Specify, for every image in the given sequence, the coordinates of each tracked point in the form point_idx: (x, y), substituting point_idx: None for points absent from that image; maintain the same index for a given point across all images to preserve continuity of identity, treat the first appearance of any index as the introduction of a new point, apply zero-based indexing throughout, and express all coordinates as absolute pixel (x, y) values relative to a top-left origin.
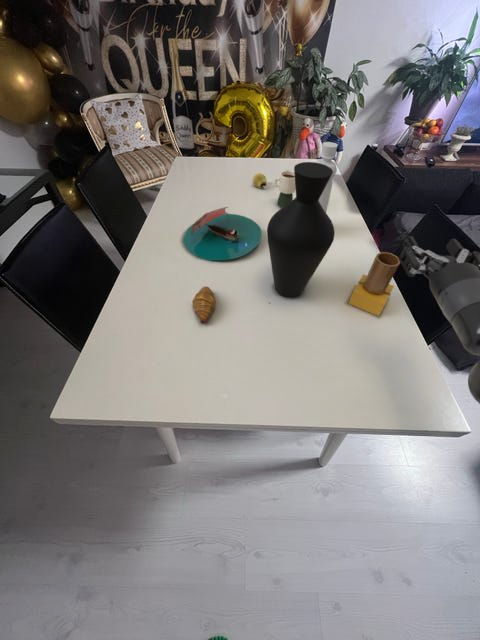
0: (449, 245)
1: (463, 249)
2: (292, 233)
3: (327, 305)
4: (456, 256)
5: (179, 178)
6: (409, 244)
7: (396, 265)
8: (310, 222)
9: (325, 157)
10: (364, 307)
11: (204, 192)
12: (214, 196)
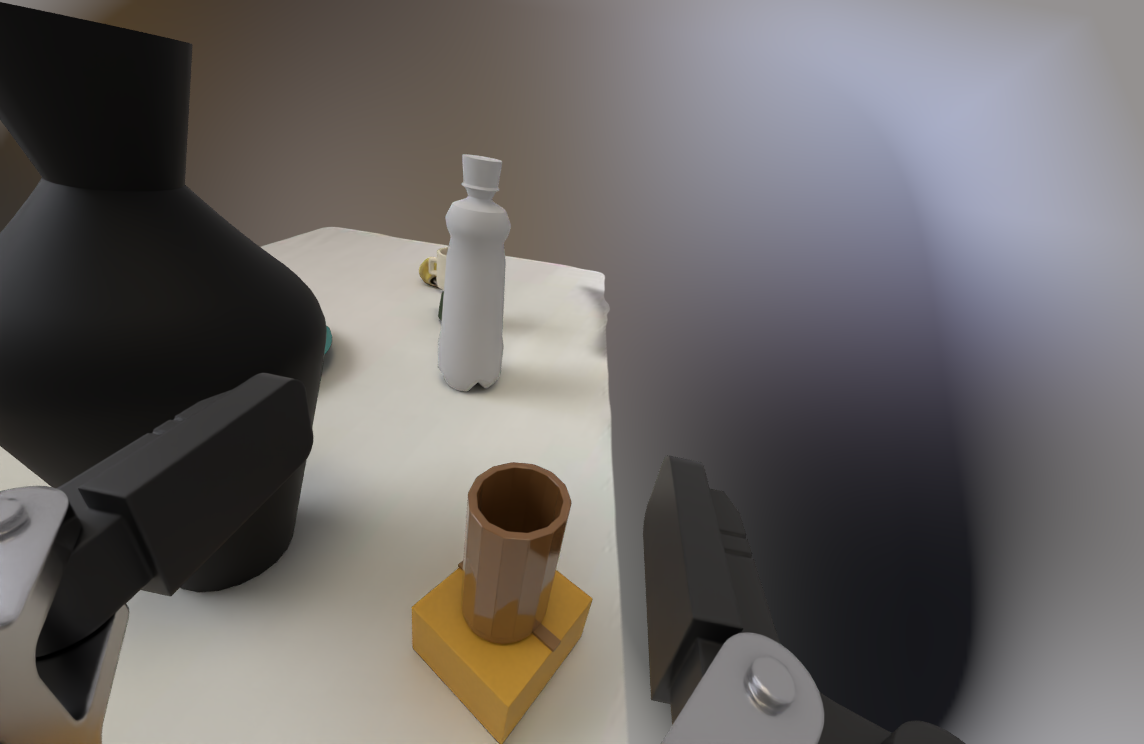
0: (653, 516)
1: (741, 647)
2: None
3: (316, 650)
4: (673, 707)
5: (281, 248)
6: (125, 456)
7: (535, 537)
8: (51, 266)
9: (468, 185)
10: (455, 686)
11: (303, 274)
12: (316, 283)
